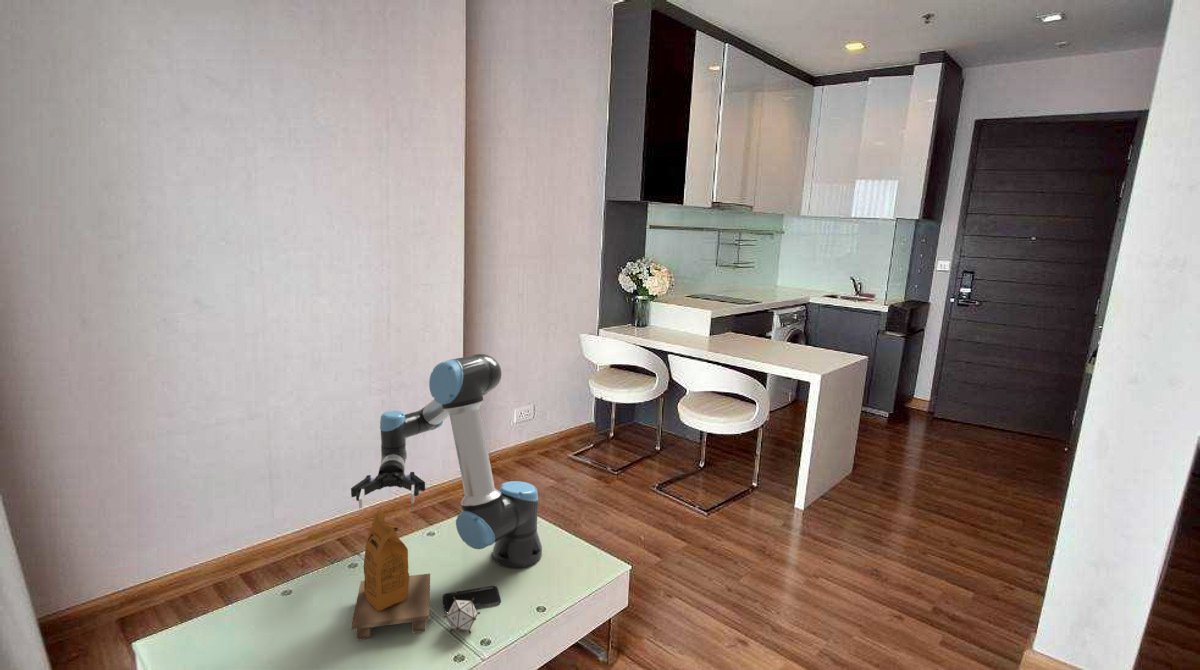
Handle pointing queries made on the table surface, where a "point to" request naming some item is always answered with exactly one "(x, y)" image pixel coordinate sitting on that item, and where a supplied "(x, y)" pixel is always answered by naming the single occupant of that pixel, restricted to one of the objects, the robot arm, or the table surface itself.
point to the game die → (461, 615)
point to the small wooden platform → (394, 609)
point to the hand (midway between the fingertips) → (386, 501)
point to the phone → (480, 595)
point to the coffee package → (385, 565)
